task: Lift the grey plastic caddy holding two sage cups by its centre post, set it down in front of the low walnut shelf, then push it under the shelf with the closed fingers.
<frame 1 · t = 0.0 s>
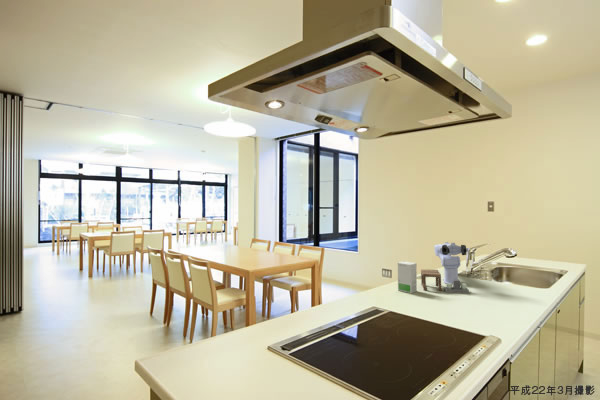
hand: (456, 250, 171), 22 cm above the worktop, tool horizontal, fingers open, 7 cm apart
grey plastic caddy: (456, 292, 170), on the worktop
walnut shelf: (431, 287, 179), on the worktop
skincare box: (407, 291, 175), on the worktop
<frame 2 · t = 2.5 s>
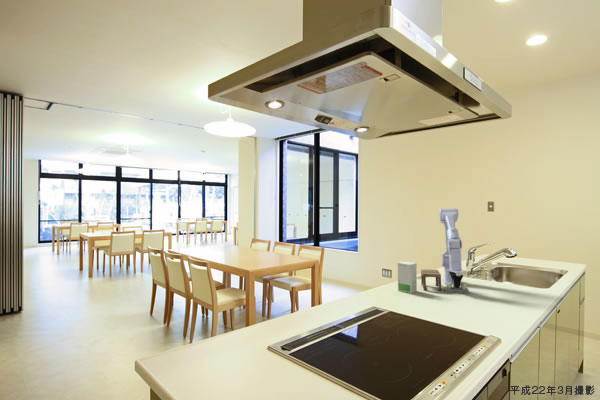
hand: (456, 286, 170), 3 cm above the worktop, tool pointing down, fingers closed on grey plastic caddy, 4 cm apart
grey plastic caddy: (456, 292, 170), on the worktop, touching gripper
everything else where it was.
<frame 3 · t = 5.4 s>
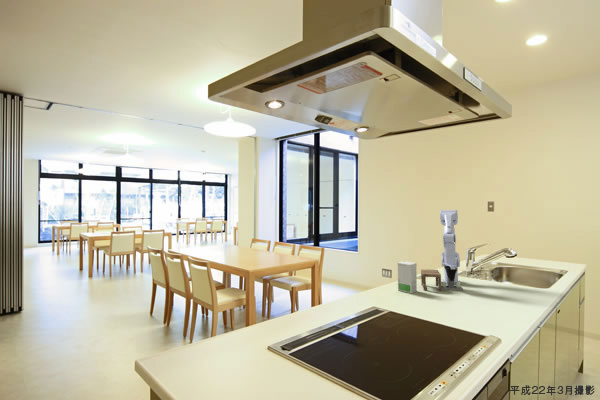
hand: (451, 280, 176), 5 cm above the worktop, tool pointing down, fingers closed on grey plastic caddy, 4 cm apart
grey plastic caddy: (451, 290, 175), on the worktop, touching gripper
everything else where it was.
when the fingers open (4 cm above the worktop, at t = 6.0 s): grey plastic caddy stays where it is, on the worktop.
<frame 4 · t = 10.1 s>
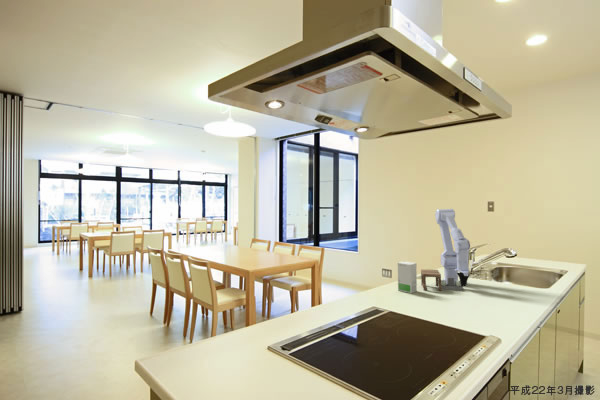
hand: (463, 286, 174), 1 cm above the worktop, tool pointing down, fingers closed
grey plastic caddy: (450, 289, 176), on the worktop, touching gripper
everything else where it was.
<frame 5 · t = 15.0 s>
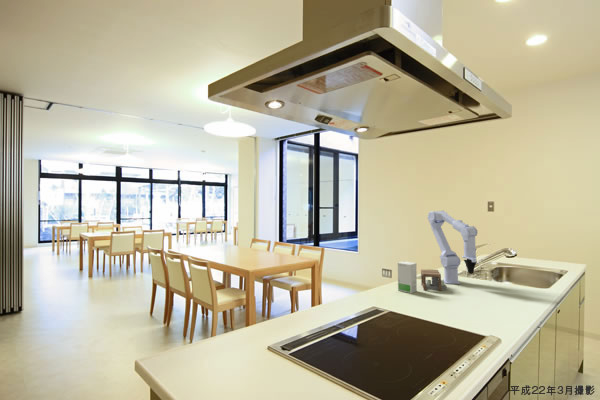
hand: (470, 273, 175), 8 cm above the worktop, tool pointing down, fingers closed
grey plastic caddy: (435, 288, 178), on the worktop
everything else where it was.
at the end: grey plastic caddy 1.9 cm from the target spot, on the worktop; grey plastic caddy tilted 0° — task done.
